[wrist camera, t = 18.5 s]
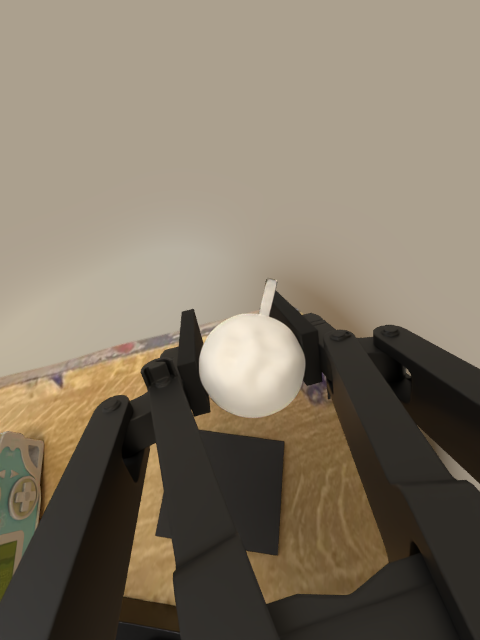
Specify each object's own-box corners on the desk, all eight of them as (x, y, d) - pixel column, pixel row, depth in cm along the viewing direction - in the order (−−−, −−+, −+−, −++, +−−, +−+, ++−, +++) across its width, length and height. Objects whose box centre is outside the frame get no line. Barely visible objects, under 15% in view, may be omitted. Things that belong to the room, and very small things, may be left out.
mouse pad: (283, 441, 30) (284, 441, 29) (277, 554, 26) (277, 555, 26) (177, 426, 31) (176, 426, 30) (156, 534, 27) (155, 536, 26)
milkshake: (287, 356, 20) (328, 291, 11) (271, 432, 18) (304, 431, 9) (228, 341, 20) (219, 266, 11) (206, 413, 18) (173, 393, 9)
